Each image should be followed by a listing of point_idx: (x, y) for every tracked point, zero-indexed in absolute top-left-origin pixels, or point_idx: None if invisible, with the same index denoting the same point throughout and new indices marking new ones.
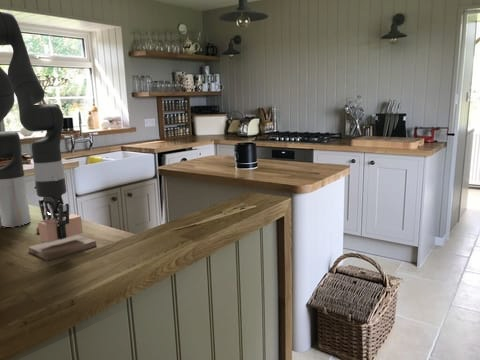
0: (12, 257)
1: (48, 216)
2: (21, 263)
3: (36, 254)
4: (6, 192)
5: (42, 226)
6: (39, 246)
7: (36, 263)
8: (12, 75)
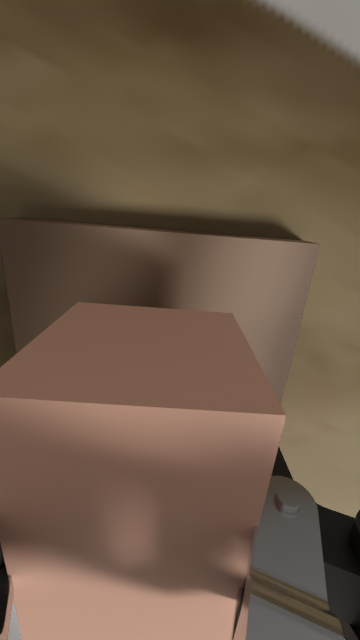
0: (314, 110)
1: (246, 597)
2: (119, 78)
3: (183, 231)
4: None
5: (131, 375)
6: (244, 291)
7: (27, 146)
8: None
